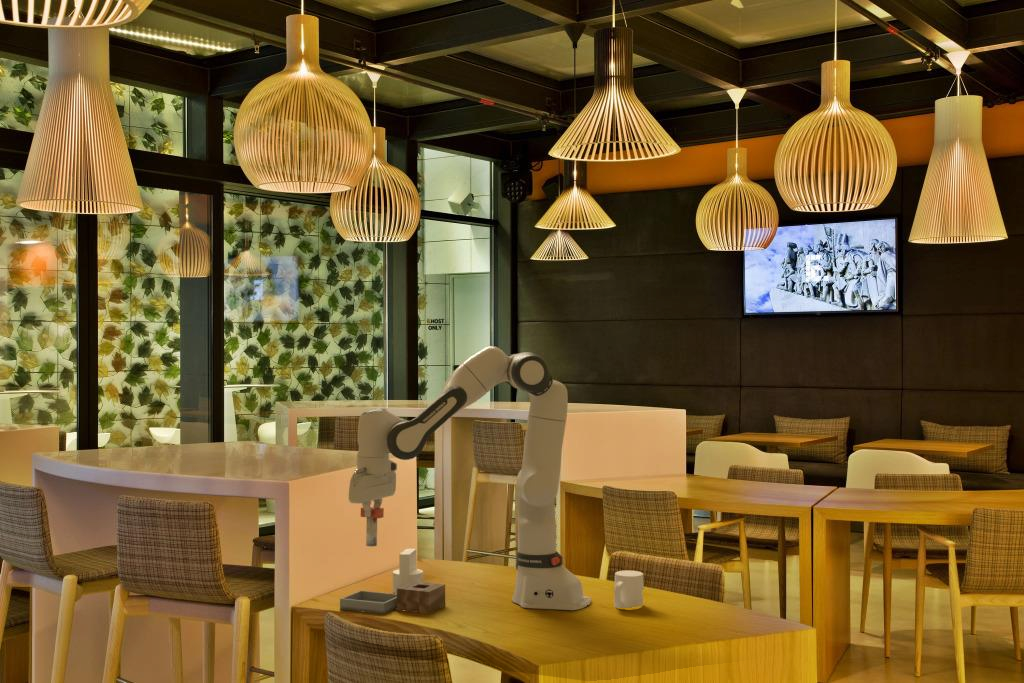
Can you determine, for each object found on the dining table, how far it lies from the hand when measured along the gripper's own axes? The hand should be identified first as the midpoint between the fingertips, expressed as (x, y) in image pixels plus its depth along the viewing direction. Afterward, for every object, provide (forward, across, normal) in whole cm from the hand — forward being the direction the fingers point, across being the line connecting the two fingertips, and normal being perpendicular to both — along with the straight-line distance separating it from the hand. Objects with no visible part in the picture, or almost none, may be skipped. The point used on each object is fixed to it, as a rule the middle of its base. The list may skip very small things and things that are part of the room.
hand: (372, 515), depth 296 cm
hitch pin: (+8, 0, 0) cm, 8 cm away
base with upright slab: (+26, +21, 0) cm, 34 cm away
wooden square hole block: (+26, +5, -13) cm, 29 cm away
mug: (+25, +28, -66) cm, 76 cm away
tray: (+26, 0, 0) cm, 26 cm away
